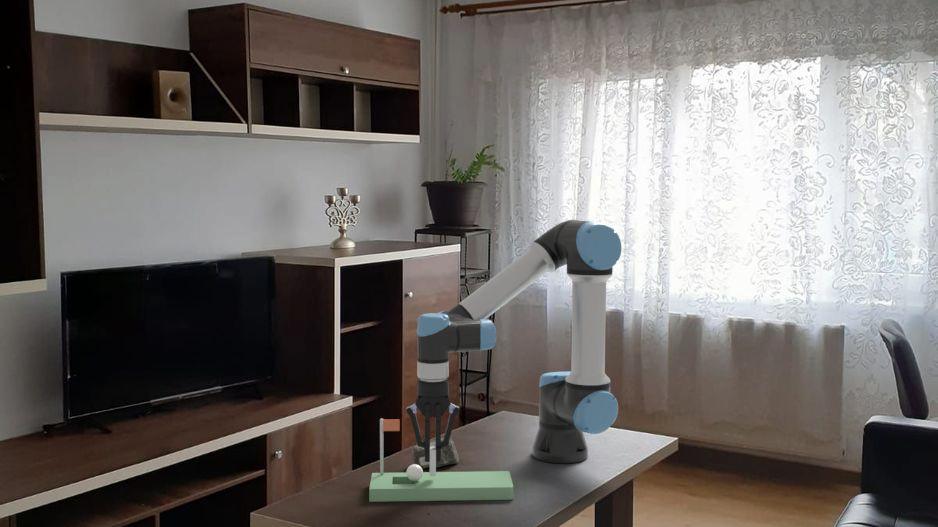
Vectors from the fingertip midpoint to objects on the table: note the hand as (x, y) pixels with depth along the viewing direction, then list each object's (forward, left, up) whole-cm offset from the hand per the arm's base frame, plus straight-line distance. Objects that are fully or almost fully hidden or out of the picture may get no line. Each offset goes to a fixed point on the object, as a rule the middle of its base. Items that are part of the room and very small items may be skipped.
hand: (432, 474), depth 225 cm
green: (-2, 0, -4) cm, 5 cm away
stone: (-1, -21, -5) cm, 22 cm away
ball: (+4, 0, +1) cm, 4 cm away
